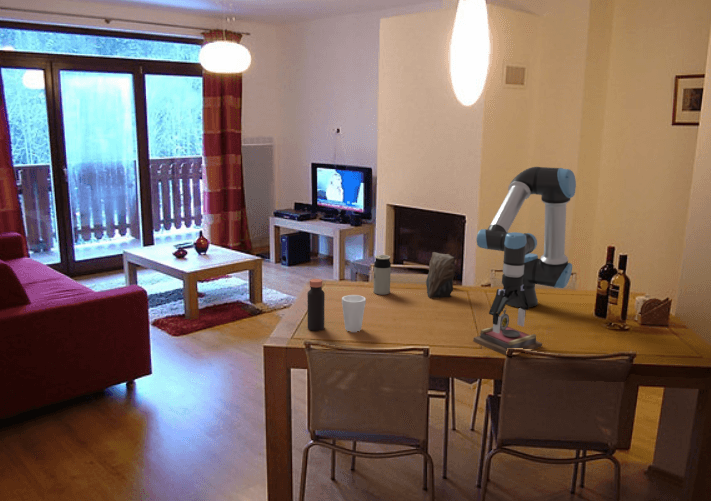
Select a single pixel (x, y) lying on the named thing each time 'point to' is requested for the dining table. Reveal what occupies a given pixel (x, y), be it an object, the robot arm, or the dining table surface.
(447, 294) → the grey rough lump
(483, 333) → the stand
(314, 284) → the bottle
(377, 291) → the travel mug
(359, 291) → the dining table surface
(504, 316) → the pocket watch
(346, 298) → the foam cup
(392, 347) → the dining table surface
